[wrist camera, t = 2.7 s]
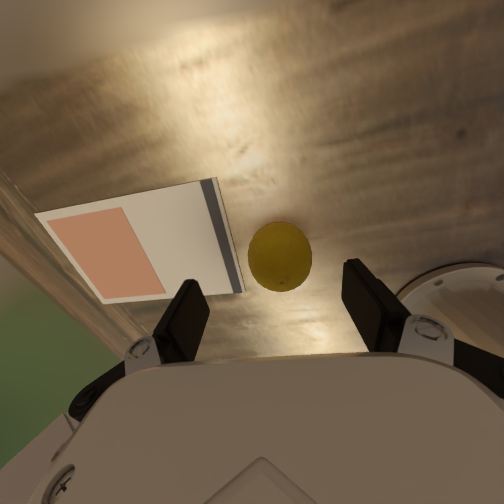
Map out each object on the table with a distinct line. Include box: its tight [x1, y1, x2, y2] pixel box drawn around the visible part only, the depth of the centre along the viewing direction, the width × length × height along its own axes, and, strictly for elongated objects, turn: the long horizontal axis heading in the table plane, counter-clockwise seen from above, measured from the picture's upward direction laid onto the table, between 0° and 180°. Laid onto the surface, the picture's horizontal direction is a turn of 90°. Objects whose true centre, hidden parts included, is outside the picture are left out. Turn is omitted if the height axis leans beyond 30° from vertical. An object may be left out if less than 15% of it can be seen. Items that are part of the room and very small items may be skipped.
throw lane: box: [34, 177, 246, 304], centre depth 22 cm, size 22×14×1 cm, turn 101°
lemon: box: [248, 222, 312, 292], centre depth 16 cm, size 6×6×8 cm
